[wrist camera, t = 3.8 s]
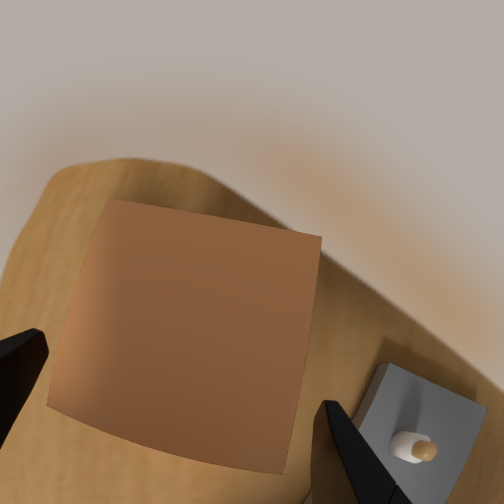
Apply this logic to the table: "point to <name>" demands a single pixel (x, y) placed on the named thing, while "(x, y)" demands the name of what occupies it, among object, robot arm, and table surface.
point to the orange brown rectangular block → (189, 334)
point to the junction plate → (418, 432)
